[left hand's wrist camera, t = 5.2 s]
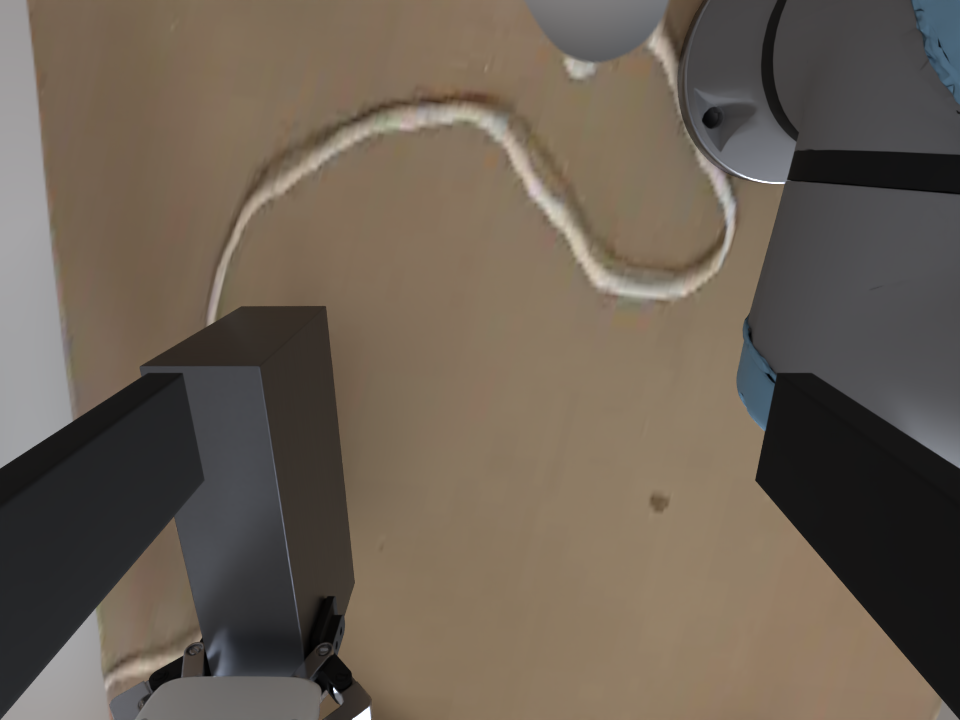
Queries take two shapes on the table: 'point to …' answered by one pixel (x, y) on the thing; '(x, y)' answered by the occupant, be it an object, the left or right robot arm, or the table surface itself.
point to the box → (263, 486)
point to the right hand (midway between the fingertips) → (285, 612)
